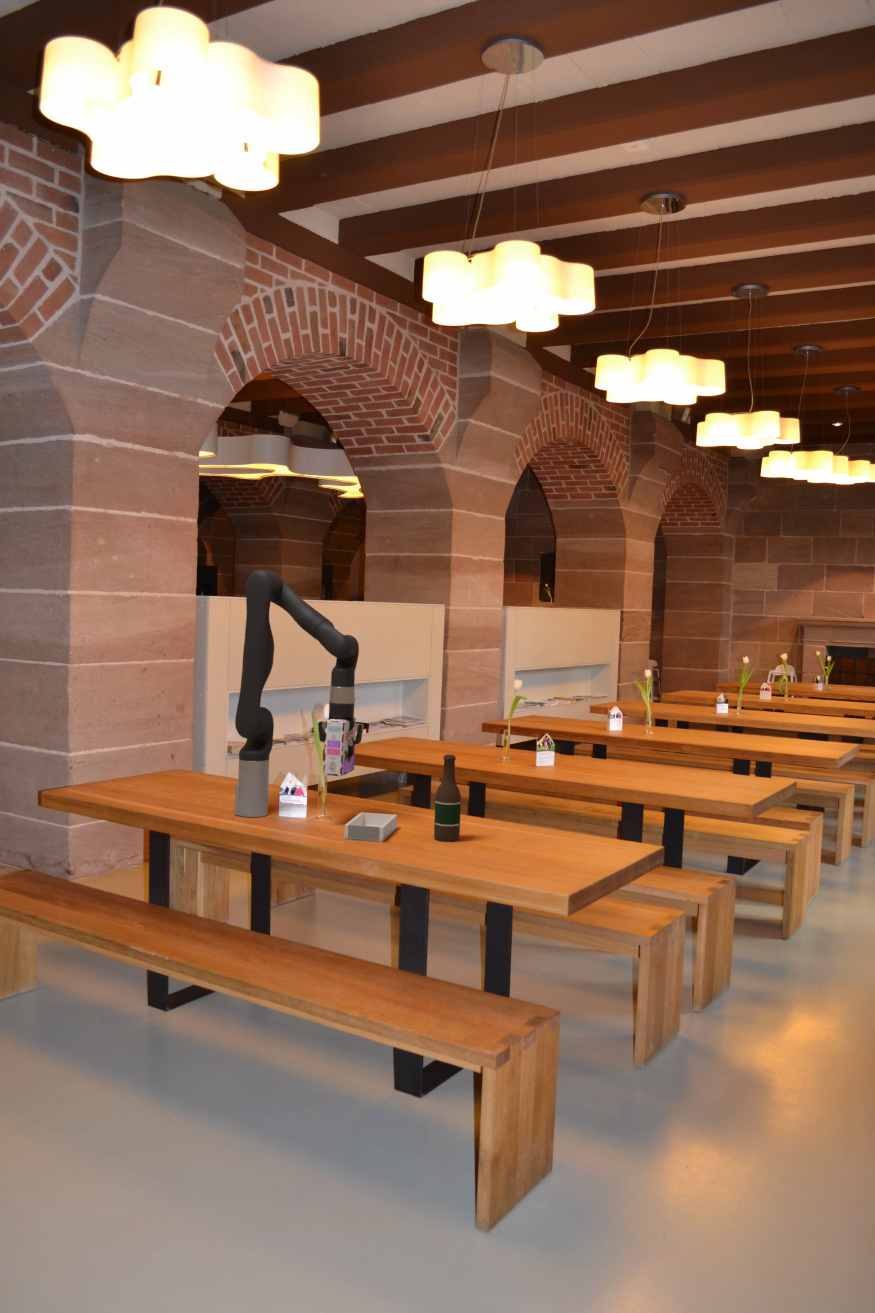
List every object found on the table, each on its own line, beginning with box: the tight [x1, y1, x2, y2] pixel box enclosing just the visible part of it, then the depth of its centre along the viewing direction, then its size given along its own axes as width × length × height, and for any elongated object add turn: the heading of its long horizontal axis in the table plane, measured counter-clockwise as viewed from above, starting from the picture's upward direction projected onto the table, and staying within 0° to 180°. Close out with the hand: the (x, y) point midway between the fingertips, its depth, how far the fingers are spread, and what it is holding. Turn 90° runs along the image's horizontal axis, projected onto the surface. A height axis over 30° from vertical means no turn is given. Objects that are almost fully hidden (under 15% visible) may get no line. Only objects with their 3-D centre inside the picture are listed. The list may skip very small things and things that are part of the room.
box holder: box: [343, 812, 398, 843], centre depth 286 cm, size 11×19×4 cm, turn 171°
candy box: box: [322, 717, 357, 777], centre depth 298 cm, size 14×6×16 cm, turn 169°
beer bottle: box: [433, 754, 462, 843], centre depth 282 cm, size 8×8×24 cm
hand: (339, 756), depth 298 cm, fingers closed on candy box, 6 cm apart
